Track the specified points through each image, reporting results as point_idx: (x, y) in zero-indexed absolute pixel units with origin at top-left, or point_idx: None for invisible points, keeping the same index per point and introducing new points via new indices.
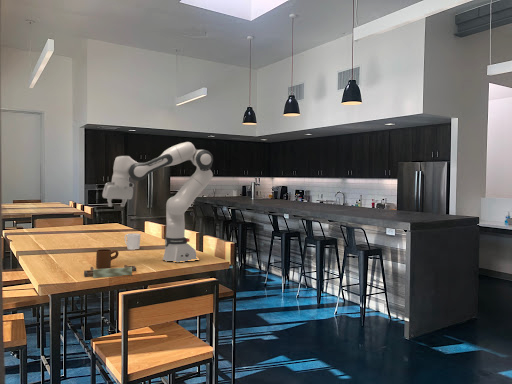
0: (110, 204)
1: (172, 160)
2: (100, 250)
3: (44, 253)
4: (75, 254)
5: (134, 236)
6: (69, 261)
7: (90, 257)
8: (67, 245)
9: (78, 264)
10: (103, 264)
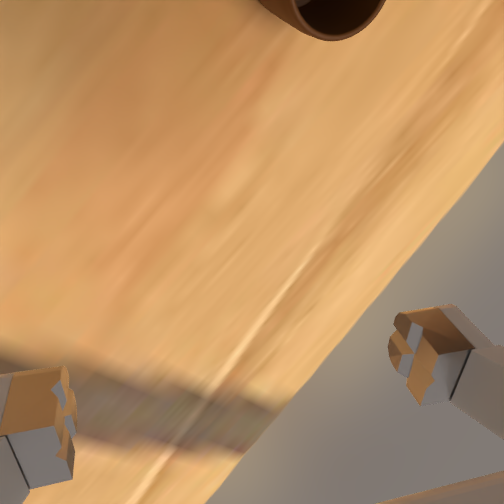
0: (478, 333)
1: None
2: (323, 34)
3: (216, 402)
4: (144, 343)
5: None
6: (272, 233)
7: (138, 253)
8: (44, 494)
9: (301, 149)
10: None
